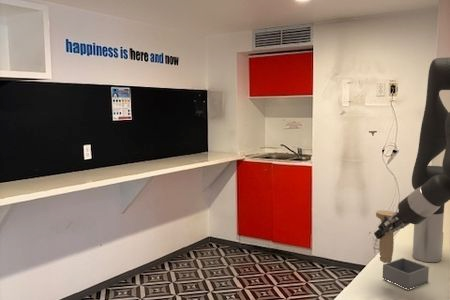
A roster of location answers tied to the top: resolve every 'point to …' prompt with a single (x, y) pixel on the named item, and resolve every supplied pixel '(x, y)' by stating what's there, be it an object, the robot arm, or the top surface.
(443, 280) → the top surface
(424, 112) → the robot arm
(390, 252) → the handle
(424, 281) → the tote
